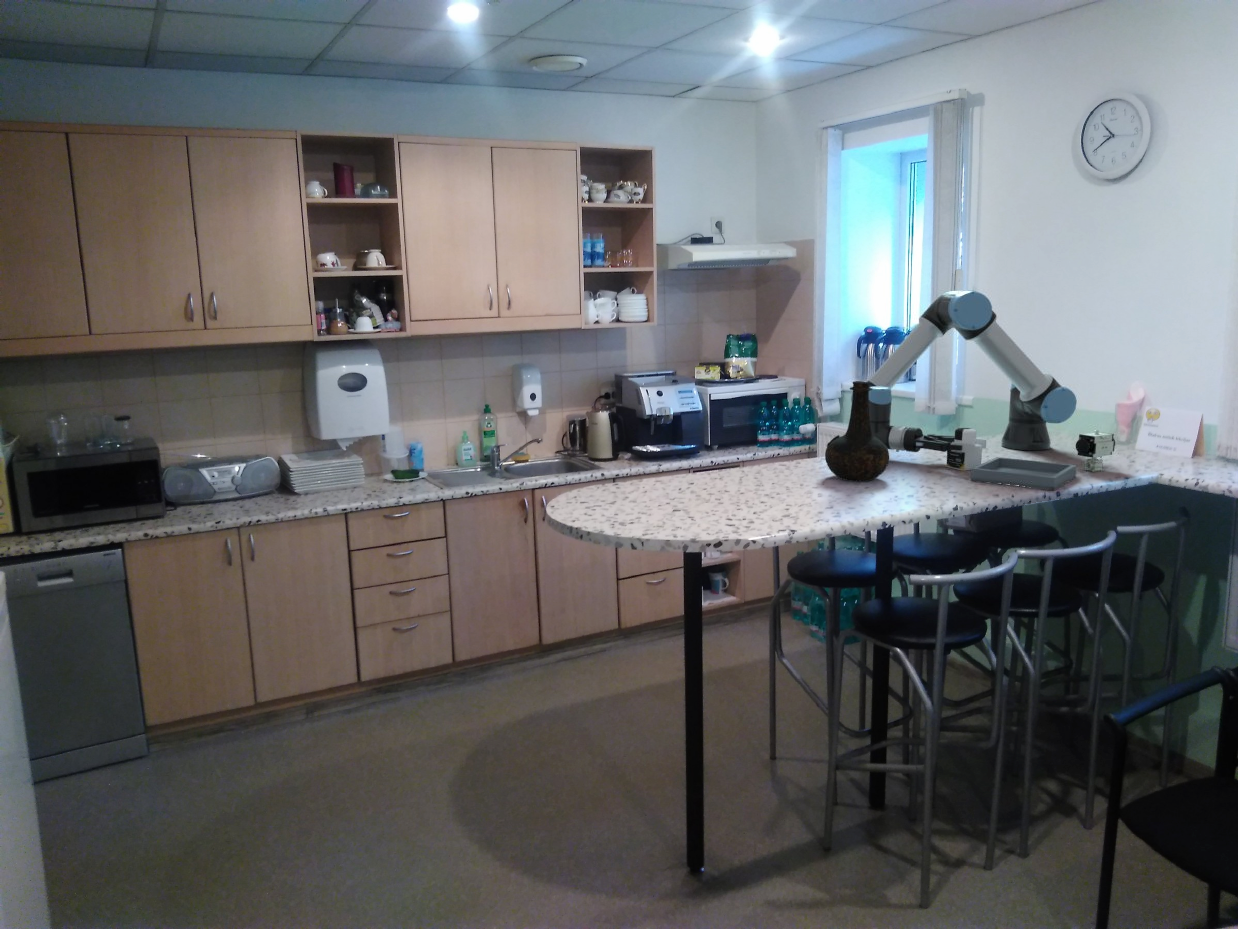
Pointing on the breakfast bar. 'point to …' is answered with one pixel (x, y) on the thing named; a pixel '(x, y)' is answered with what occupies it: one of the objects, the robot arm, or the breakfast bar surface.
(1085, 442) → the pneumatic valve
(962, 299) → the robot arm
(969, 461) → the medicine bottle
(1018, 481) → the tray
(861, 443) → the glass bottle
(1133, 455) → the breakfast bar surface
